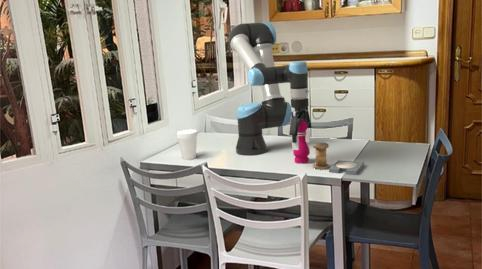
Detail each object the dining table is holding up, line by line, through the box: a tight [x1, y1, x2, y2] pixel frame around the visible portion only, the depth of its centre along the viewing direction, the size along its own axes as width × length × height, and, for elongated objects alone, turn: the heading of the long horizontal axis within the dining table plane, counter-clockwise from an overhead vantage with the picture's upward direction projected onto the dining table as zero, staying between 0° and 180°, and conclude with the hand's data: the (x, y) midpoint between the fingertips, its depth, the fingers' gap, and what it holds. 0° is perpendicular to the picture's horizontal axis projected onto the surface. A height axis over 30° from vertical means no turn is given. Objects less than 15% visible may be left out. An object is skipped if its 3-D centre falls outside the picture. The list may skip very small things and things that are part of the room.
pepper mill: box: [292, 121, 311, 164], centre depth 203 cm, size 7×7×20 cm
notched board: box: [328, 159, 365, 176], centre depth 190 cm, size 11×13×2 cm
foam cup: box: [176, 129, 198, 161], centre depth 221 cm, size 10×9×13 cm
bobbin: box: [312, 142, 330, 171], centre depth 193 cm, size 6×6×10 cm
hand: (301, 146), depth 203 cm, fingers open, 13 cm apart
